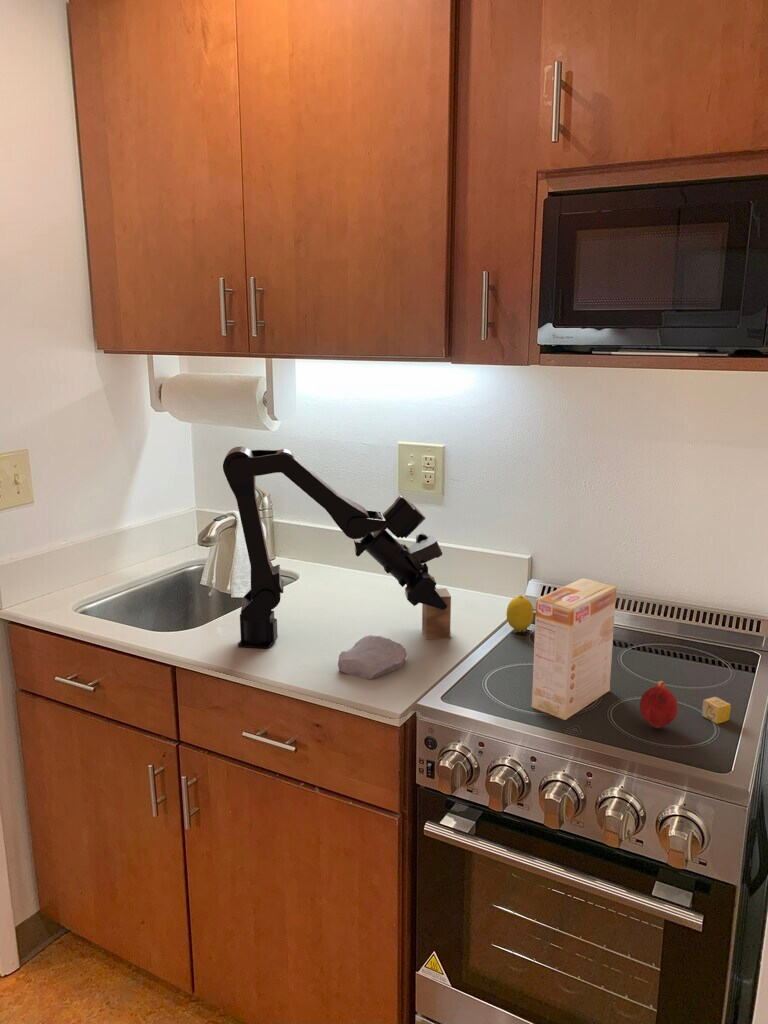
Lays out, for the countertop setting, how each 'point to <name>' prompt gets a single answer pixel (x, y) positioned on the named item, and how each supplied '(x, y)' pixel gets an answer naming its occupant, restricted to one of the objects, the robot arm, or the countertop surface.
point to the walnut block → (437, 618)
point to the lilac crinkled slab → (372, 657)
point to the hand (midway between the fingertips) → (443, 603)
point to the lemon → (520, 613)
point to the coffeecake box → (573, 647)
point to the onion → (658, 706)
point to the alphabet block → (716, 710)
